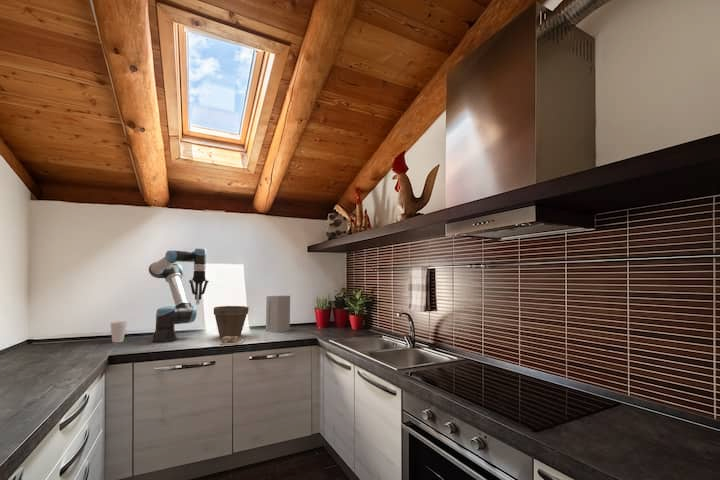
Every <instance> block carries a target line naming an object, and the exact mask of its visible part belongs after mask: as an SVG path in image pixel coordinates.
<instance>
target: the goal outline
mask: <svg viewBox="0 0 720 480" xmlns="http://www.w3.org/2000/svg"><path fill="white" fill-rule="evenodd" d="M245 342H246V340H245V339H238V343H222V342H221V343H219V346H231V345H233V346H234V345H235V346H237V345H241V346H242V344H243V343H245Z"/></svg>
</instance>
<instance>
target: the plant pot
mask: <svg viewBox="0 0 720 480" xmlns="http://www.w3.org/2000/svg"><path fill="white" fill-rule="evenodd" d="M248 314H249V306H245V305H244V306H243V305H221V306H215V307H213V315H214V317H215V318H214V319H215V322H216V327H217V332H218V335H219V337H220V338H221V339H222V338H223V337H225V336H230V337H235V336H238V338H239V337H241V335H242V331H243V328H244V325H245V322H246V318H247V315H248Z"/></svg>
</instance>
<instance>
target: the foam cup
mask: <svg viewBox="0 0 720 480" xmlns="http://www.w3.org/2000/svg"><path fill="white" fill-rule="evenodd" d="M127 325H128V322H127V321H124V320H123V321H112V322H110V330H111V331H110V332H111V341H112V342H111V343H122V342H124V340H125V333H126V329H127Z"/></svg>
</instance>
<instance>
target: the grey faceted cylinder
mask: <svg viewBox="0 0 720 480" xmlns="http://www.w3.org/2000/svg"><path fill="white" fill-rule="evenodd" d="M265 300H266V301H265V303H266V305H265V310H266V312H265V331H266V332H270V333H277V334H279V333H284V332H288V331H290V329H291V295H266V299H265Z"/></svg>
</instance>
